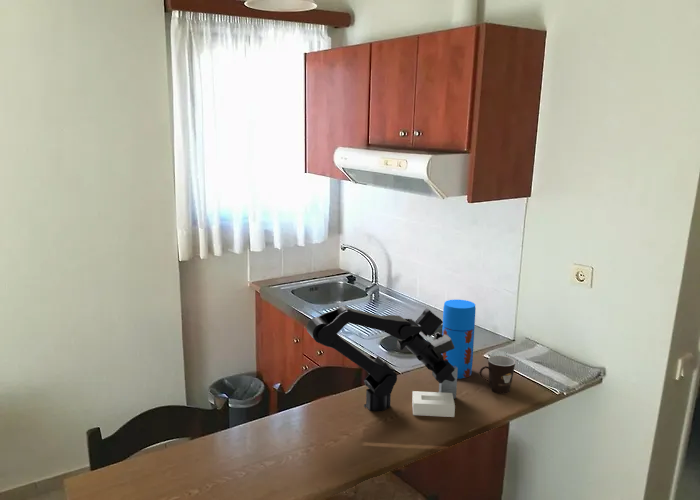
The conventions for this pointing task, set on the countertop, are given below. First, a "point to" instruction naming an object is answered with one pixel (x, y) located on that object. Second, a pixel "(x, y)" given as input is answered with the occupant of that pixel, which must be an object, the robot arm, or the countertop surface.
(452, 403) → the slot box
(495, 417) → the countertop surface
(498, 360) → the coffee mug
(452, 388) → the grey rectangular block
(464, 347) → the thermos
